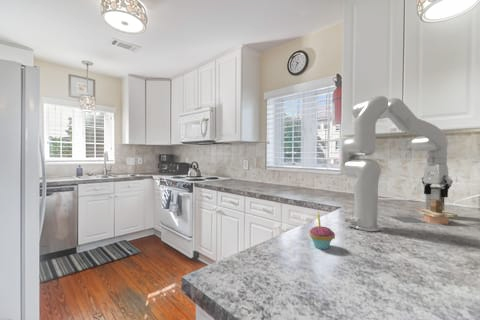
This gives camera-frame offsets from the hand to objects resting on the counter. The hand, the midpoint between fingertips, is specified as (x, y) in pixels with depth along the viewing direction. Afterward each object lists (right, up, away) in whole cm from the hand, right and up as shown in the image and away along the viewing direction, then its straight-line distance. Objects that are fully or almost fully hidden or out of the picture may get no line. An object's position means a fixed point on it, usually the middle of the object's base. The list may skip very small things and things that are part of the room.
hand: (435, 195), depth 113 cm
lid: (+1, -9, 0) cm, 9 cm away
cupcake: (-69, -13, -33) cm, 78 cm away
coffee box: (+11, -14, +13) cm, 22 cm away
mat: (-11, -13, +4) cm, 18 cm away
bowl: (+1, -13, 0) cm, 13 cm away
